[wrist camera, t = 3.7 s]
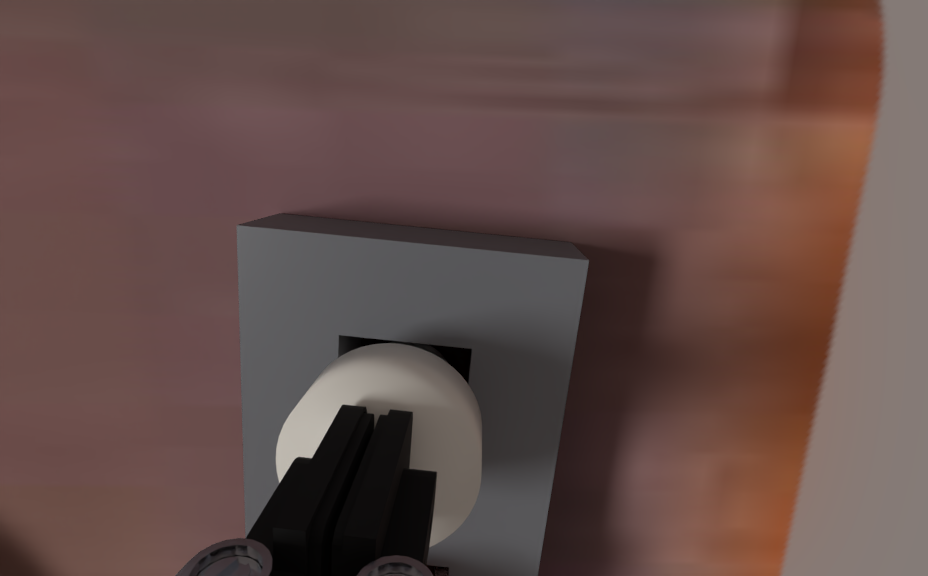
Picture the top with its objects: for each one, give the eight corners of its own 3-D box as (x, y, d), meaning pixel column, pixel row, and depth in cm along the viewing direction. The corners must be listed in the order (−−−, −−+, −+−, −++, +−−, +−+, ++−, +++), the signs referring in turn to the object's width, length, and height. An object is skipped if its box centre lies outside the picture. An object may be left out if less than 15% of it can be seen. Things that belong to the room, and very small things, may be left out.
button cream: (474, 453, 17) (471, 566, 12) (333, 438, 17) (276, 544, 13) (490, 318, 16) (492, 386, 11) (337, 303, 16) (274, 364, 11)
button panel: (489, 778, 23) (490, 866, 21) (282, 754, 24) (254, 837, 21) (571, 242, 17) (589, 260, 14) (279, 213, 17) (236, 225, 14)
